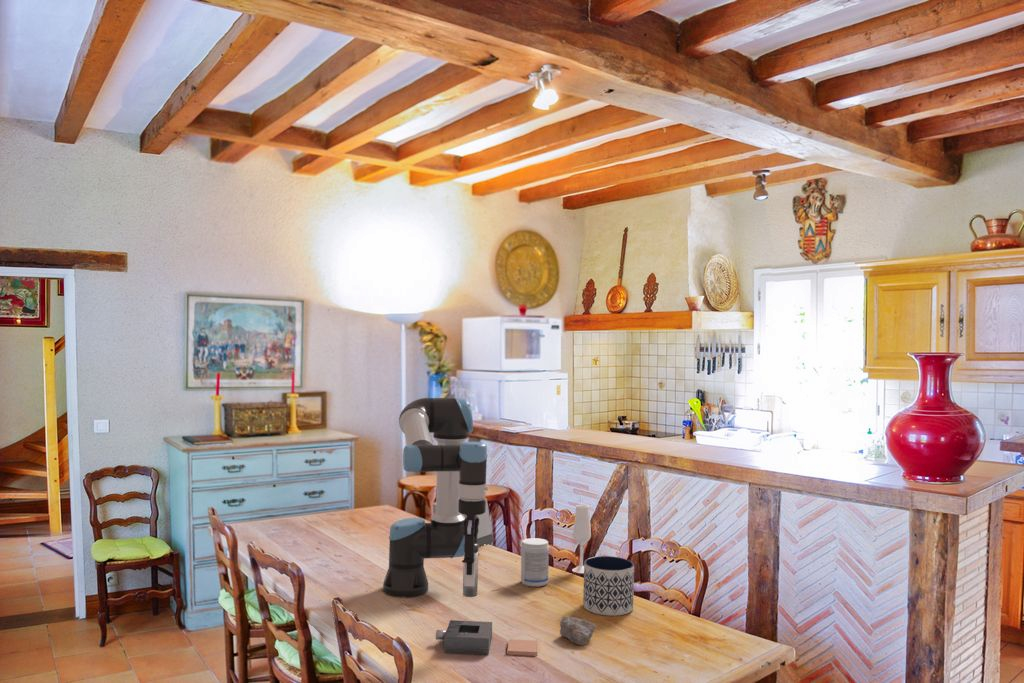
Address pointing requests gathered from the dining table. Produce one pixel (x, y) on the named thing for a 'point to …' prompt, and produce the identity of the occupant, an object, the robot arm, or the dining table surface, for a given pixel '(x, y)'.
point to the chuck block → (466, 637)
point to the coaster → (522, 647)
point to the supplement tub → (534, 562)
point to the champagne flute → (581, 531)
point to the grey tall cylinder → (472, 590)
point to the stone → (576, 630)
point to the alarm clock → (481, 527)
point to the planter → (608, 585)
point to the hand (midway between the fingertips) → (470, 582)
